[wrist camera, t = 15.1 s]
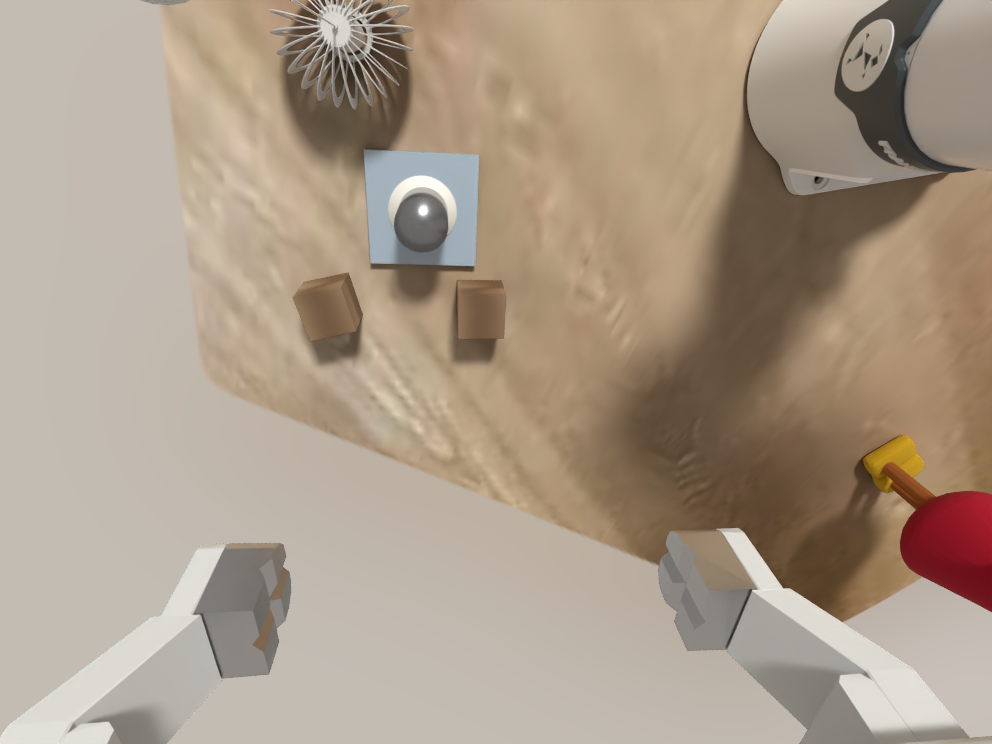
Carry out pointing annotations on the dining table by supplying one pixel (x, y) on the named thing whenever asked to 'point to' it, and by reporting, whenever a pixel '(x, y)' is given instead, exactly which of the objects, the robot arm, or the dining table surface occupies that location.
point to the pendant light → (336, 43)
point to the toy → (939, 525)
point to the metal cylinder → (421, 220)
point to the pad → (409, 170)
